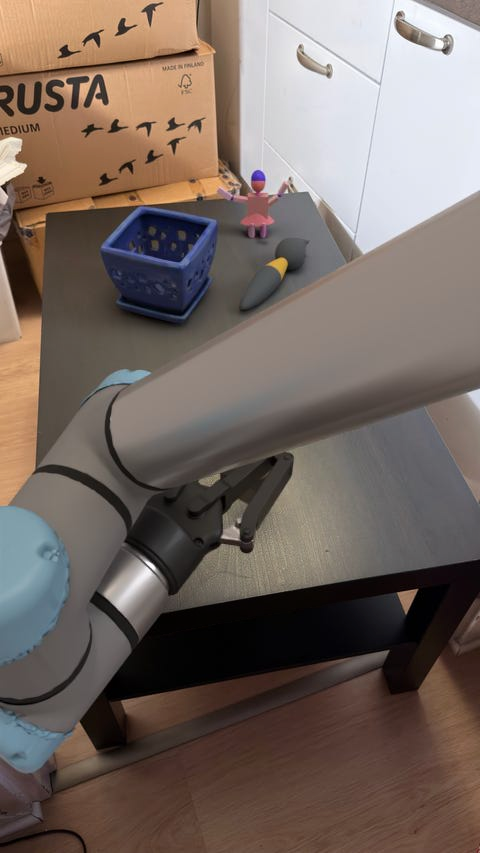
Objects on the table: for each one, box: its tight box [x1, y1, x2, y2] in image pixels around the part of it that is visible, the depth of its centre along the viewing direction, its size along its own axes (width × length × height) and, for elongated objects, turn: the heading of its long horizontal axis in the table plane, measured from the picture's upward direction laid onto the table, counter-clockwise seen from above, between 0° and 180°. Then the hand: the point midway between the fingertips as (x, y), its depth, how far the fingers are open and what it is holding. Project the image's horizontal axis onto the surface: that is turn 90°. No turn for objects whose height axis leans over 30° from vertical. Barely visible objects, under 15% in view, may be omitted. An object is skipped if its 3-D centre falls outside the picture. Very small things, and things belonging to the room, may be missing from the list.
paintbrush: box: [239, 237, 310, 311], centre depth 98 cm, size 20×5×5 cm, turn 153°
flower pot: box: [99, 205, 219, 324], centre depth 92 cm, size 13×13×12 cm
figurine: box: [216, 169, 290, 239], centre depth 106 cm, size 3×12×11 cm, turn 94°
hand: (282, 394), depth 63 cm, fingers closed on brush, 4 cm apart
